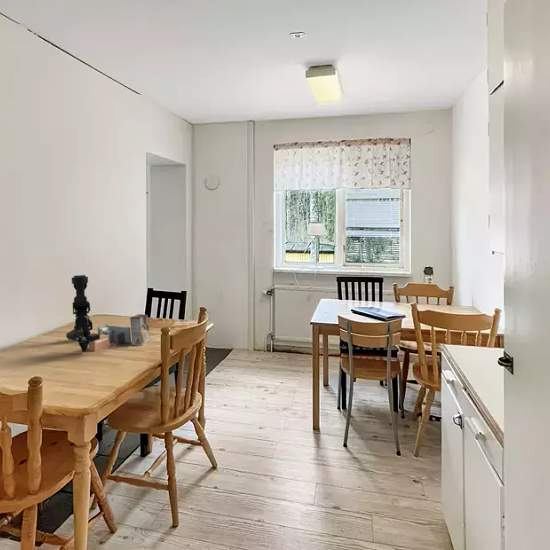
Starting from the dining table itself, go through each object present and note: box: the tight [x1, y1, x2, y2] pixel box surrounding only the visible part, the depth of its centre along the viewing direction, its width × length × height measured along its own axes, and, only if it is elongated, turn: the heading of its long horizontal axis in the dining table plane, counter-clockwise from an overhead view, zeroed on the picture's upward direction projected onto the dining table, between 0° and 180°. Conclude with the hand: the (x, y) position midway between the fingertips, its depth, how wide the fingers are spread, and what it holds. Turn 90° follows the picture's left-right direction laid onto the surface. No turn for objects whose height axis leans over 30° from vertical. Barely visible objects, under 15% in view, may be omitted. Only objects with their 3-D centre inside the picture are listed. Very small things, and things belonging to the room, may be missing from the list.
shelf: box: [97, 324, 132, 344], centre depth 240 cm, size 19×7×9 cm, turn 65°
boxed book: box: [88, 335, 110, 352], centre depth 229 cm, size 5×10×6 cm, turn 155°
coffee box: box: [129, 313, 151, 346], centre depth 237 cm, size 9×6×16 cm
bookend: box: [115, 332, 130, 346], centre depth 236 cm, size 5×5×6 cm
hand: (84, 351), depth 220 cm, fingers closed
